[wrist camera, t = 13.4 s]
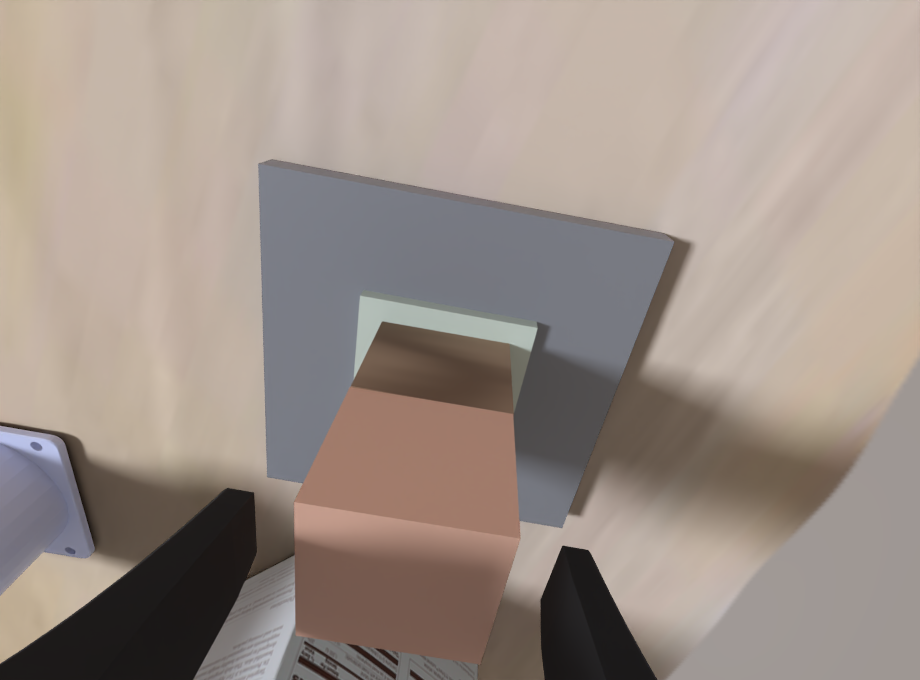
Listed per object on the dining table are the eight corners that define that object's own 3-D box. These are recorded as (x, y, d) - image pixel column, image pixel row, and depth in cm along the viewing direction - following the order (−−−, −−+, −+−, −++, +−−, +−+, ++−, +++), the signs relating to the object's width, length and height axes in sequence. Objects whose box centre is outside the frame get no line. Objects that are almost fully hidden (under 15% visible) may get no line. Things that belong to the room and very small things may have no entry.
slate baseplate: (276, 461, 21) (262, 485, 20) (271, 159, 15) (250, 165, 14) (559, 510, 22) (563, 537, 20) (664, 233, 16) (680, 246, 14)
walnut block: (372, 423, 18) (342, 503, 15) (382, 321, 16) (350, 386, 13) (485, 442, 18) (483, 527, 15) (509, 343, 16) (513, 414, 13)
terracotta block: (343, 504, 15) (295, 635, 11) (349, 386, 13) (294, 502, 9) (483, 527, 15) (480, 664, 11) (513, 414, 13) (520, 538, 9)
